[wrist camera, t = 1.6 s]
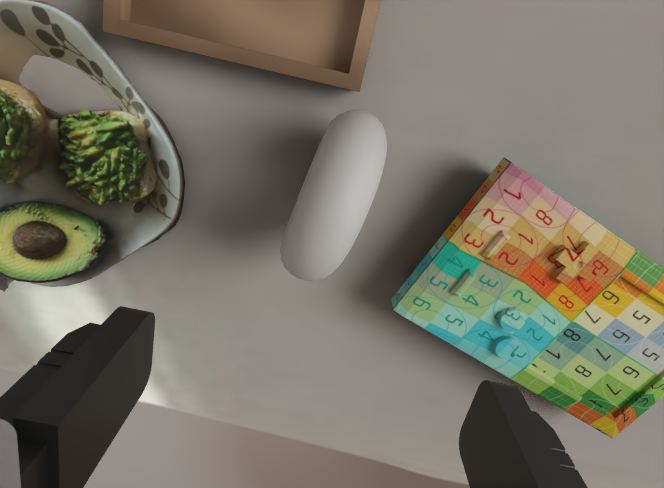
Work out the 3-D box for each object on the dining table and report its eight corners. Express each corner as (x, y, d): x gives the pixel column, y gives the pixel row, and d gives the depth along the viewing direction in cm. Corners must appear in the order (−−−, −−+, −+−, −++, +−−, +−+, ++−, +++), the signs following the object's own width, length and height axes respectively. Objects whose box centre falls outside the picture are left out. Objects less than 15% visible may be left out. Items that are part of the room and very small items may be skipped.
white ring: (328, 248, 31) (320, 325, 22) (283, 230, 31) (256, 300, 22) (389, 115, 28) (410, 140, 19) (339, 93, 28) (335, 107, 18)
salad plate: (-172, 79, 29) (-263, 81, 24) (25, -90, 25) (-42, -123, 20) (38, 307, 35) (-5, 341, 30) (223, 199, 31) (203, 220, 26)
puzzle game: (516, 164, 24) (758, 334, 28) (490, 149, 29) (703, 298, 32) (393, 316, 28) (619, 448, 32) (387, 283, 33) (586, 402, 36)
